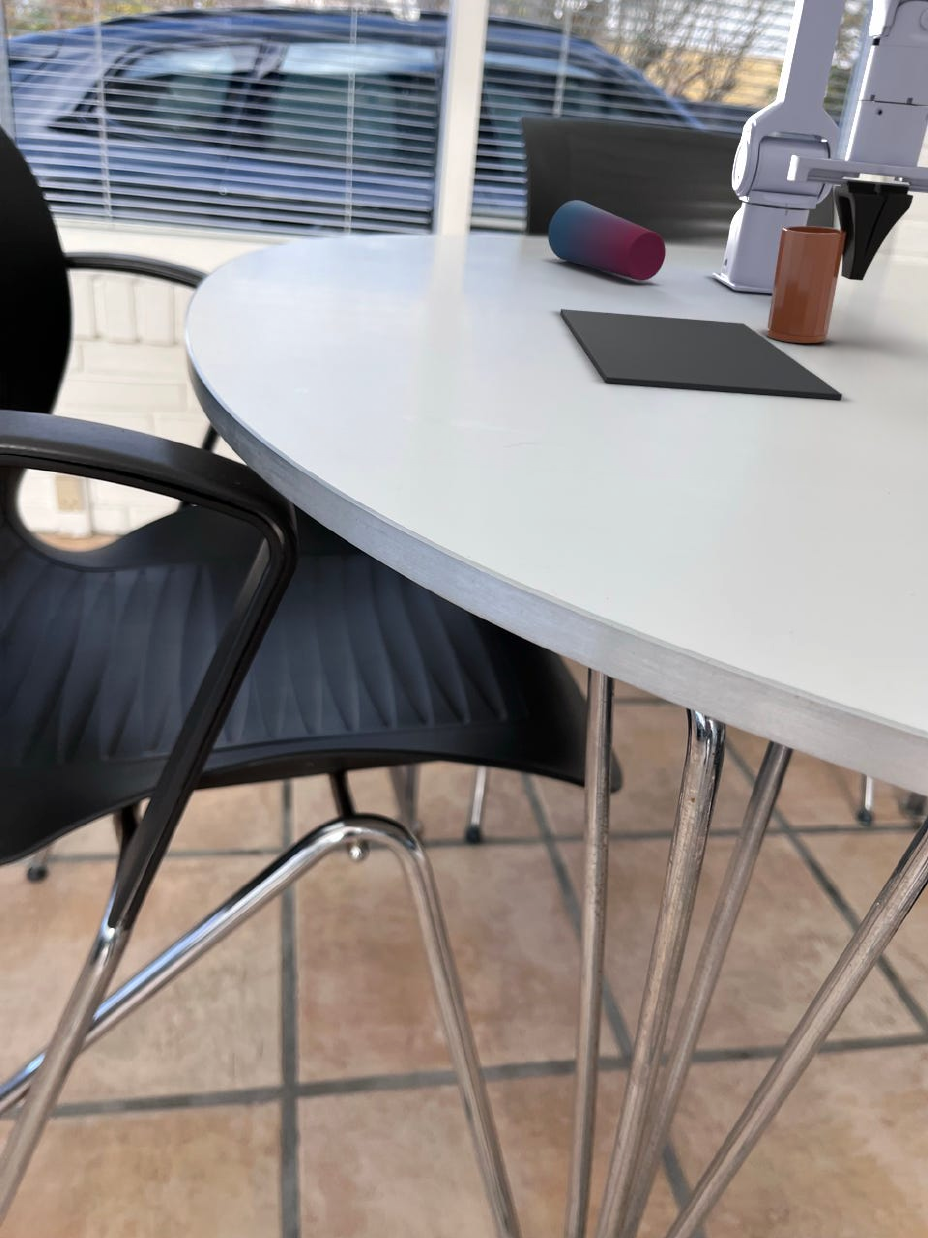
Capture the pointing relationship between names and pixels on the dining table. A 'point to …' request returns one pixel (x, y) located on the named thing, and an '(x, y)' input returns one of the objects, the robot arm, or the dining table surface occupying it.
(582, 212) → the cup
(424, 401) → the dining table surface
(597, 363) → the mat
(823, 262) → the small cup
